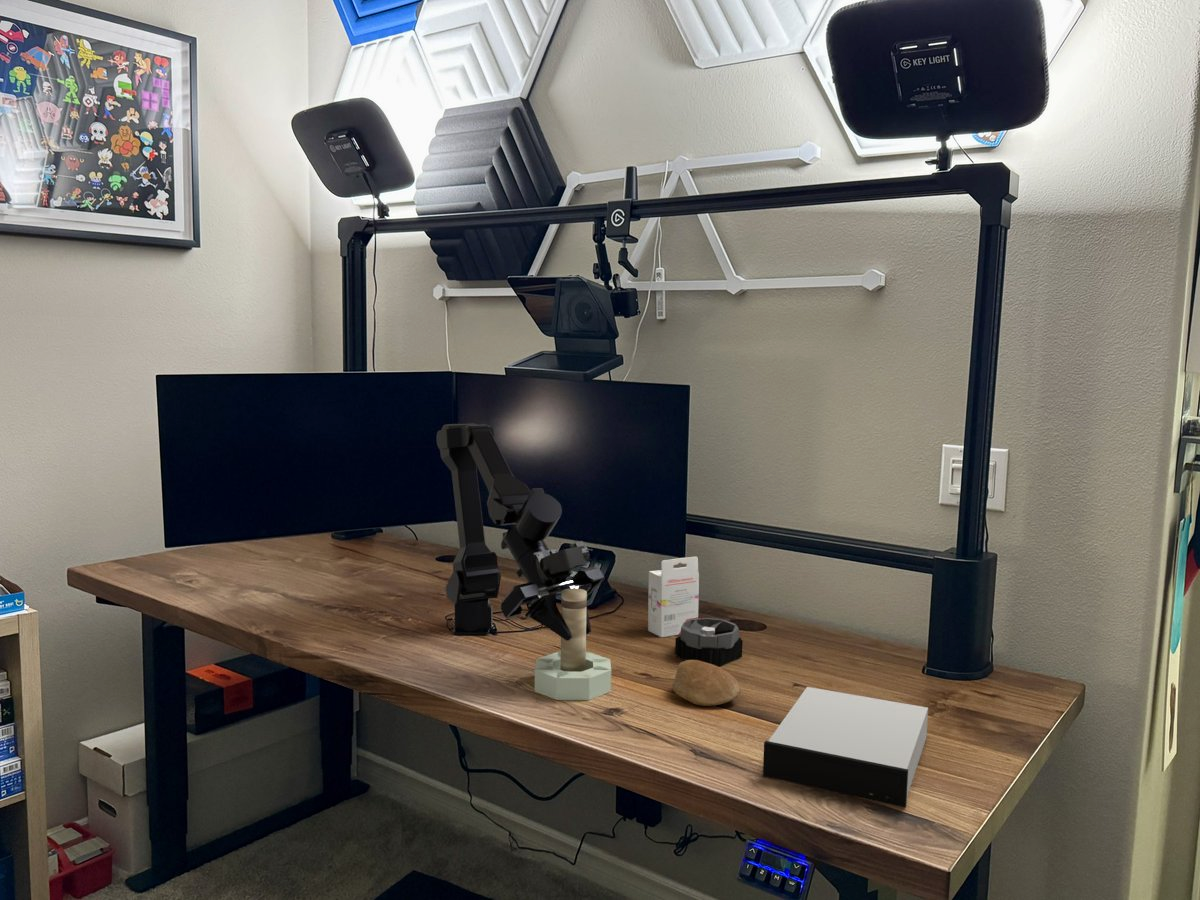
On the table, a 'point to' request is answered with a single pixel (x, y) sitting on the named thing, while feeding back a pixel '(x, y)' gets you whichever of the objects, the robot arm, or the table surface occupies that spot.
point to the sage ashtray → (572, 678)
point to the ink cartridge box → (673, 596)
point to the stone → (705, 683)
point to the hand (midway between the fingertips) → (579, 636)
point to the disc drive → (849, 745)
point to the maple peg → (574, 630)
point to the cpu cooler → (709, 641)
